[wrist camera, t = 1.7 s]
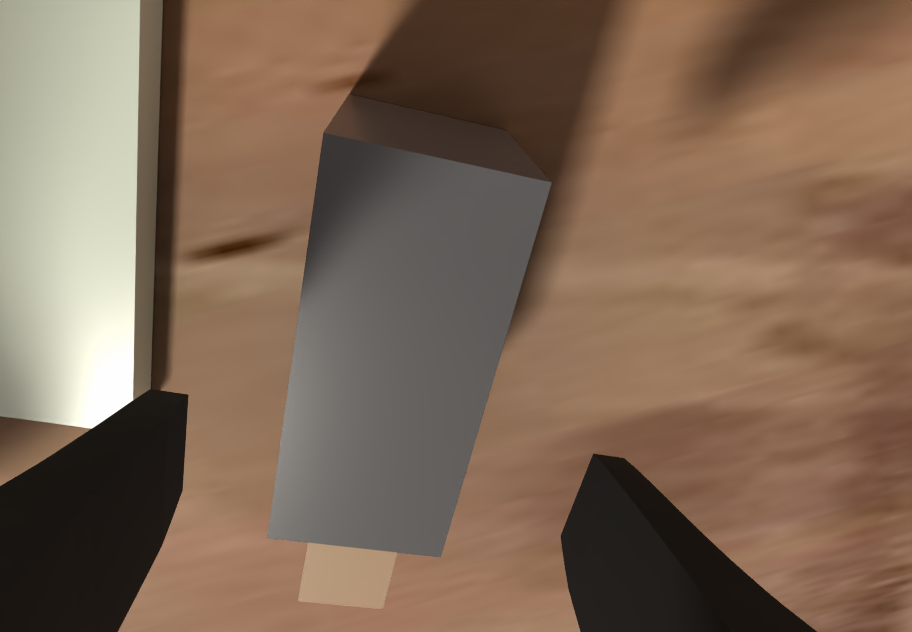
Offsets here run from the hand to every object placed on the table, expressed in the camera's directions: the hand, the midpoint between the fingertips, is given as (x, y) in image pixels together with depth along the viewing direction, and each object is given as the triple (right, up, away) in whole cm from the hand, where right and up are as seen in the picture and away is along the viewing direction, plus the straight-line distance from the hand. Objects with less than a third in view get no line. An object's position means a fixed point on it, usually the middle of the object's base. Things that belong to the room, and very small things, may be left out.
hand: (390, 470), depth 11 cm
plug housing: (-1, +3, +9) cm, 9 cm away
